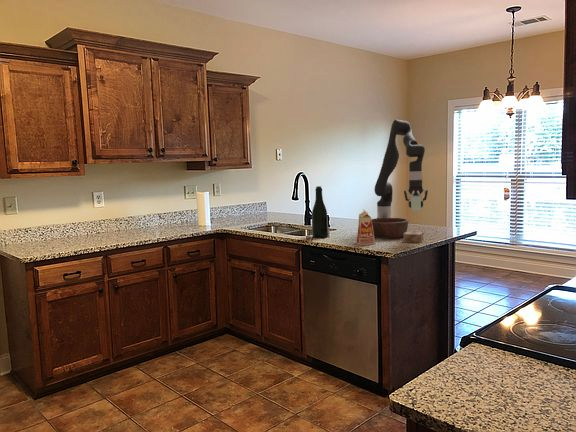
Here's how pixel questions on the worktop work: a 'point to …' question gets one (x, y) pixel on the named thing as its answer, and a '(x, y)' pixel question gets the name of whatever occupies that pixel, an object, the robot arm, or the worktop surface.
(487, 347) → the worktop surface
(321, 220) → the beer bottle
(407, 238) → the walnut block
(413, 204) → the canister
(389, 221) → the wooden bowl
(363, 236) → the milk carton
